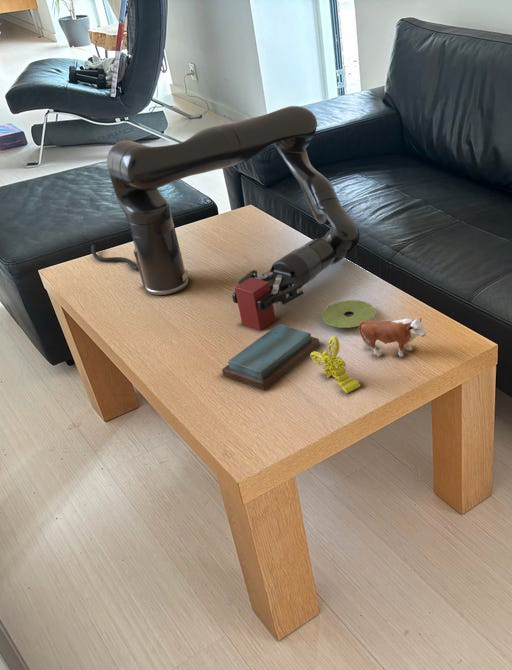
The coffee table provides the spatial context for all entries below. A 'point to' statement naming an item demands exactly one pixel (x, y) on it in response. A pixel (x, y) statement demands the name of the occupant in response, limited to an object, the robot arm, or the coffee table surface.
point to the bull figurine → (391, 333)
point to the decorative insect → (331, 368)
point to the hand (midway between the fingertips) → (246, 302)
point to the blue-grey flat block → (270, 356)
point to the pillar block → (254, 303)
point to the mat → (348, 313)
